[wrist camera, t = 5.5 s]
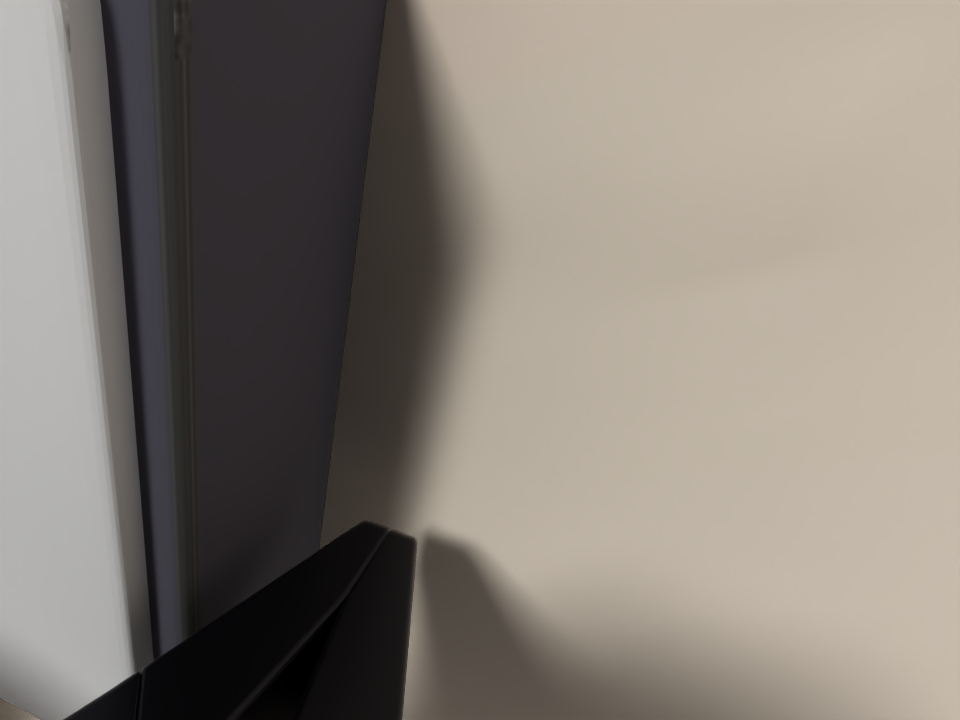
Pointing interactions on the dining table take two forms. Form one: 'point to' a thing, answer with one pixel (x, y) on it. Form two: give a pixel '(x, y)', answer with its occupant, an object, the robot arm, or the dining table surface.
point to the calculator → (167, 315)
